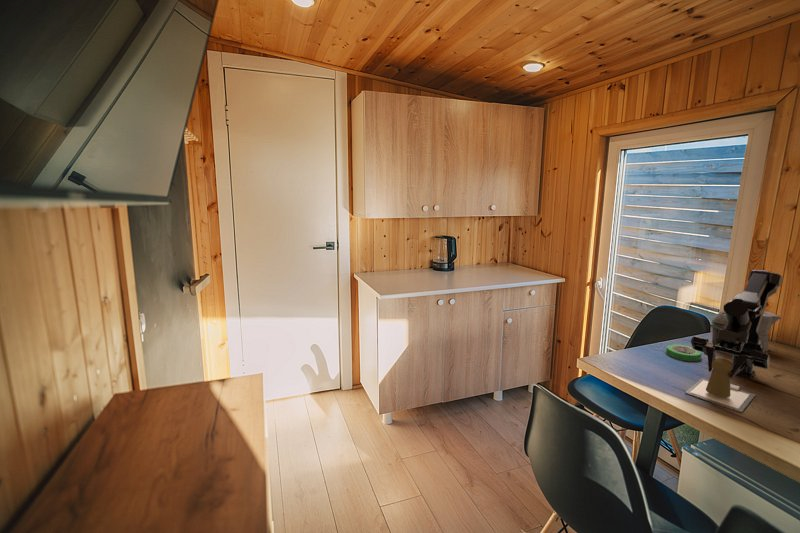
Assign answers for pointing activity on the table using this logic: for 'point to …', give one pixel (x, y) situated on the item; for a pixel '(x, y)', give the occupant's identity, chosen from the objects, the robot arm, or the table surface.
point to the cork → (720, 378)
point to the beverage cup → (718, 325)
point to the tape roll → (674, 349)
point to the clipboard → (734, 402)
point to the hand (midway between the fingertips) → (719, 374)
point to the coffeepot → (766, 328)
